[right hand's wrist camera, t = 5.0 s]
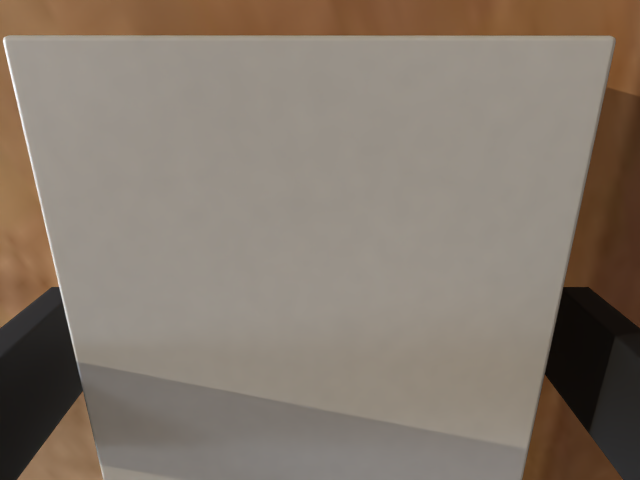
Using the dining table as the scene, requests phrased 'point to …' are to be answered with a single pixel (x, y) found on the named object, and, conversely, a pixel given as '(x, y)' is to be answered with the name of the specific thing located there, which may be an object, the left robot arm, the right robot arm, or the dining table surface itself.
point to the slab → (310, 243)
